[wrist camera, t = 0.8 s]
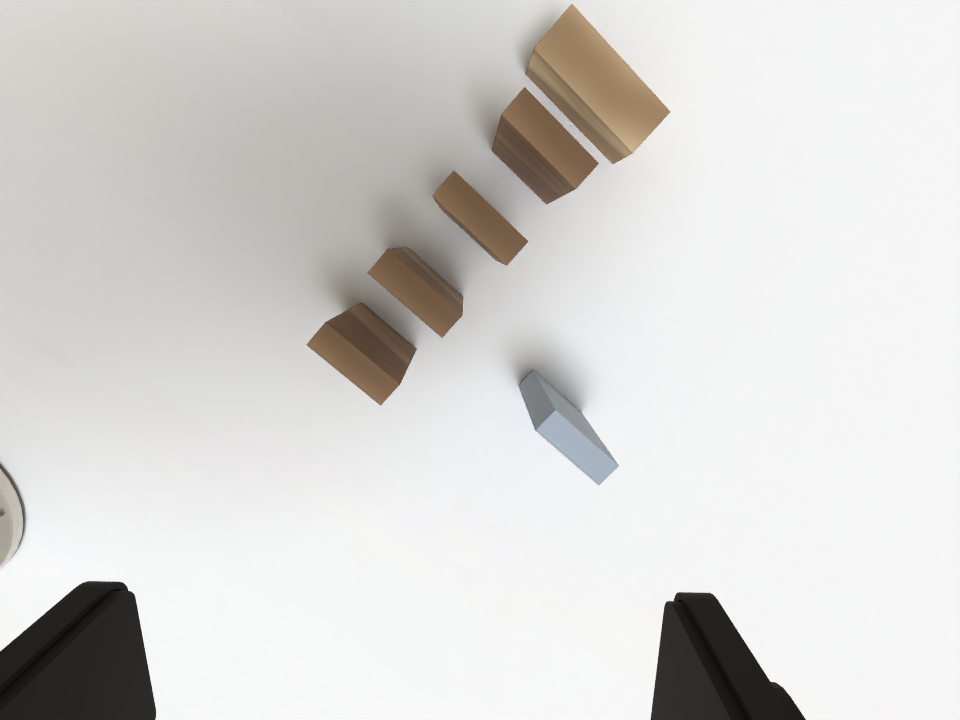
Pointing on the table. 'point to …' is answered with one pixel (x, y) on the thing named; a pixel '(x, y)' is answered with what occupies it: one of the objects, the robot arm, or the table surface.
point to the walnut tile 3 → (479, 219)
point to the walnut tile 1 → (364, 351)
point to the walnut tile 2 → (419, 288)
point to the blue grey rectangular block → (566, 428)
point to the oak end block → (594, 87)
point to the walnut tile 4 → (540, 149)
